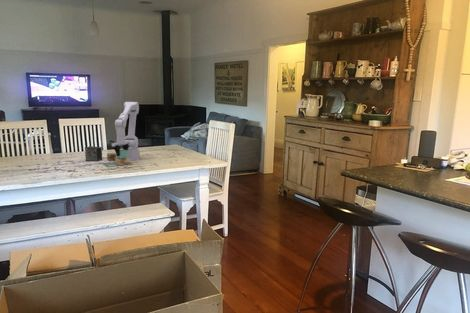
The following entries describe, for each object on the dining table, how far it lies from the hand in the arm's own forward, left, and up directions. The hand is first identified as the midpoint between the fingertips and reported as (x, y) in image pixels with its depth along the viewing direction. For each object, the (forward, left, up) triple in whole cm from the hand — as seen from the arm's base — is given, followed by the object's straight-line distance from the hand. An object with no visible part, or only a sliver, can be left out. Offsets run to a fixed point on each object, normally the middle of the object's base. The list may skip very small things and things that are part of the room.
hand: (121, 155), depth 253 cm
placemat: (+3, -1, -7) cm, 7 cm away
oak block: (0, 0, -6) cm, 6 cm away
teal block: (0, 0, -2) cm, 2 cm away
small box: (+13, -24, -7) cm, 28 cm away
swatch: (+8, +3, -6) cm, 11 cm away
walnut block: (+2, -16, -7) cm, 18 cm away
